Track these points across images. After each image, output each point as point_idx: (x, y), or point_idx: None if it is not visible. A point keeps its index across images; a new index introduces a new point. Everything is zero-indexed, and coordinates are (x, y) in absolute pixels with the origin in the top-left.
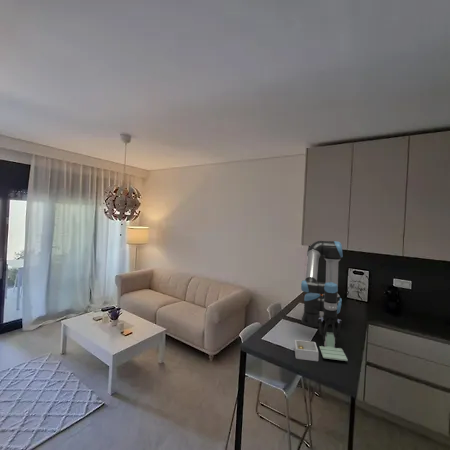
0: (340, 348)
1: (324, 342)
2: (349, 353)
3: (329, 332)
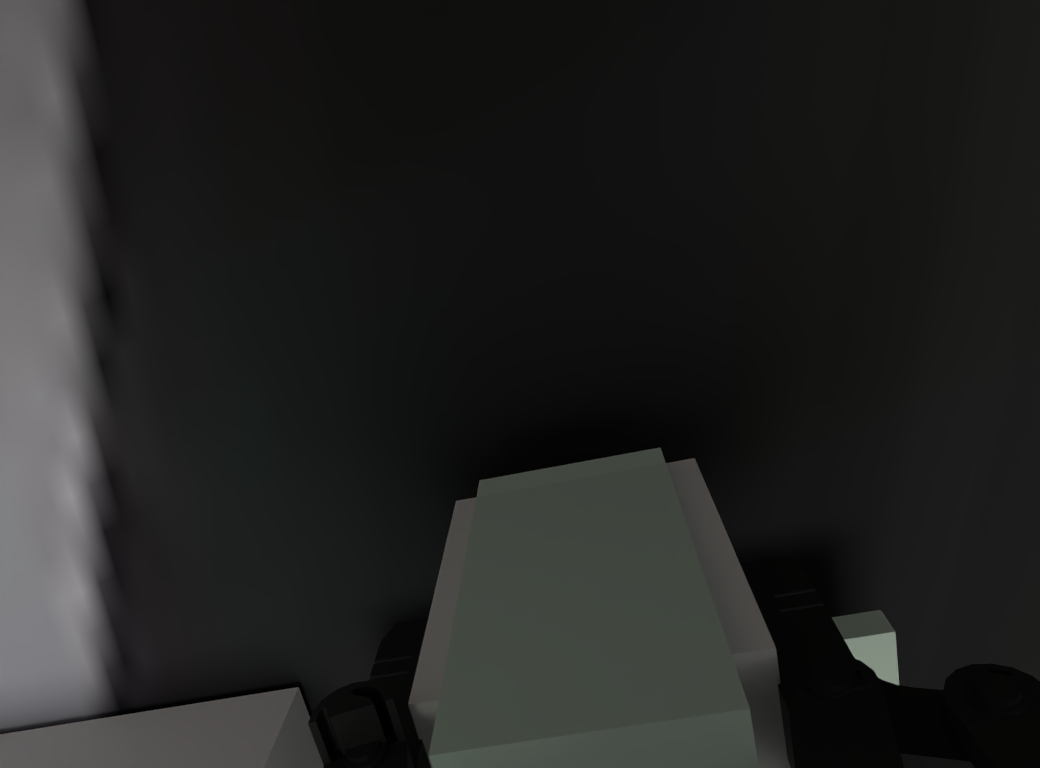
0: (860, 642)
1: (447, 546)
2: (1034, 430)
3: (600, 755)
